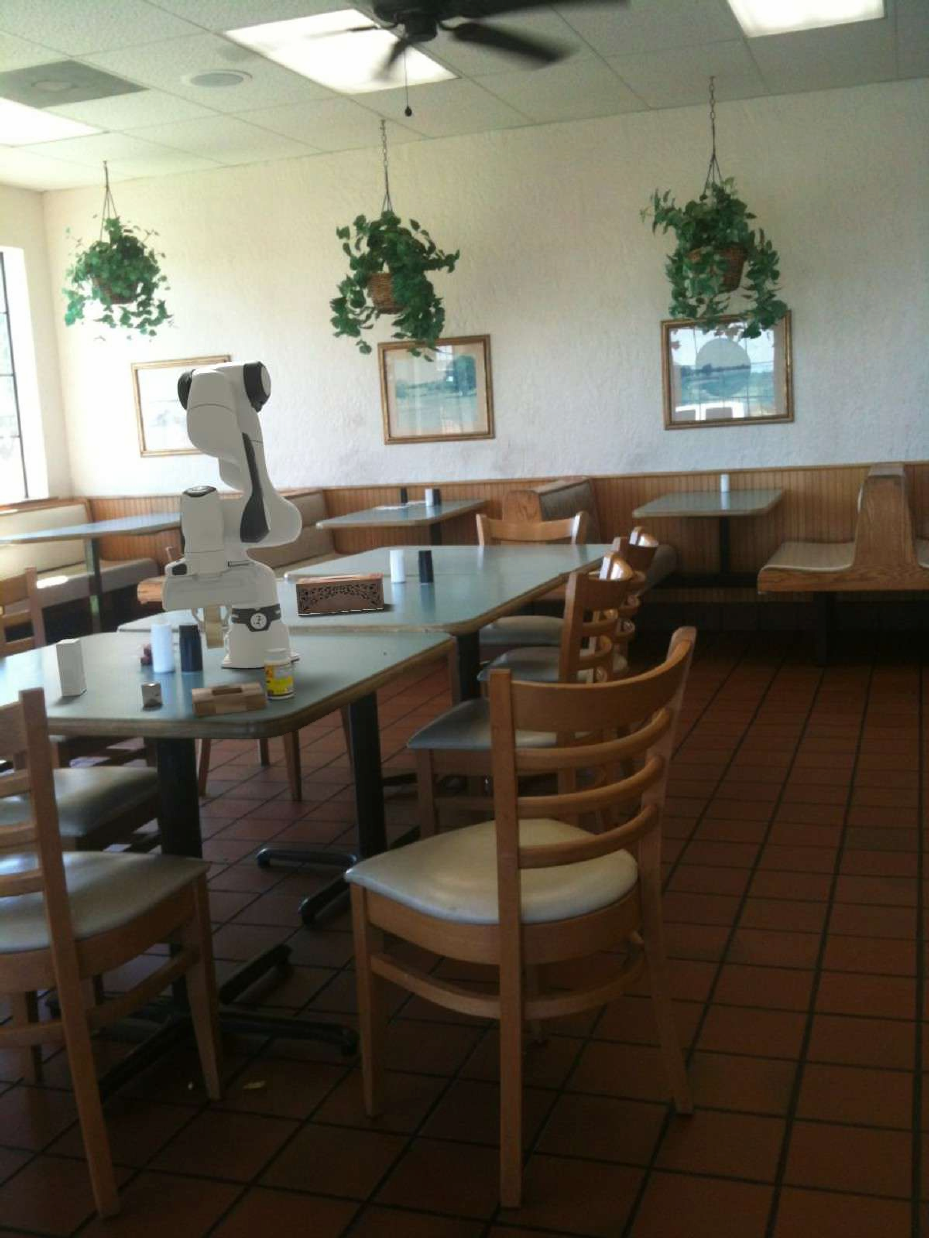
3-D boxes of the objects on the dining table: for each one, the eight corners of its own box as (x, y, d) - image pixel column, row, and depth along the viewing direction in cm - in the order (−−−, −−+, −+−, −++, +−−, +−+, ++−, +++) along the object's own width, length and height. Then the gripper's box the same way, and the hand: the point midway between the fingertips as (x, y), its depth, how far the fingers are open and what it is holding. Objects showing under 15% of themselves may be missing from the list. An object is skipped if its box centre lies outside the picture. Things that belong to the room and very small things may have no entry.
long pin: (206, 646, 271) (201, 595, 269) (223, 644, 271) (218, 594, 270) (207, 649, 267) (202, 597, 265) (224, 647, 268) (219, 596, 266)
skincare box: (67, 691, 286) (61, 639, 284) (86, 689, 286) (80, 638, 285) (61, 696, 280) (54, 644, 278) (80, 695, 280) (74, 642, 279)
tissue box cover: (384, 604, 397) (381, 572, 396) (383, 610, 383) (380, 578, 381) (302, 609, 397) (300, 578, 395) (298, 616, 382) (295, 584, 381)
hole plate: (192, 703, 263) (191, 689, 263) (259, 695, 267) (258, 681, 266) (195, 716, 250) (194, 702, 249) (266, 708, 253) (265, 693, 253)
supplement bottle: (266, 696, 266) (262, 648, 264) (293, 693, 267) (289, 645, 265) (268, 701, 260) (263, 652, 259) (295, 698, 261) (290, 650, 260)
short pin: (143, 704, 266) (141, 683, 265) (162, 702, 267) (160, 681, 266) (143, 708, 262) (141, 687, 261) (163, 705, 263) (160, 684, 262)
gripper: (254, 557, 272) (260, 620, 274) (158, 566, 267) (164, 630, 269) (257, 560, 266) (263, 624, 268) (158, 569, 261) (165, 635, 263)
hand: (213, 627), depth 269 cm, fingers closed on long pin, 3 cm apart
